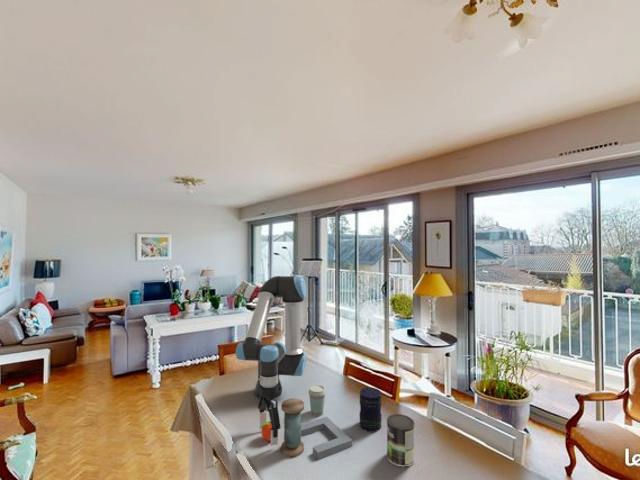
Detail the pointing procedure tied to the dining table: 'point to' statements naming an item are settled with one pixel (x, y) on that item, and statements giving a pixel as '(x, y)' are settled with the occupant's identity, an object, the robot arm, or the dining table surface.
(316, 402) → the coffee cup
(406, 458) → the coffee can
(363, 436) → the dining table surface
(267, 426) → the clementine
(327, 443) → the notched board
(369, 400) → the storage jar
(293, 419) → the bobbin
